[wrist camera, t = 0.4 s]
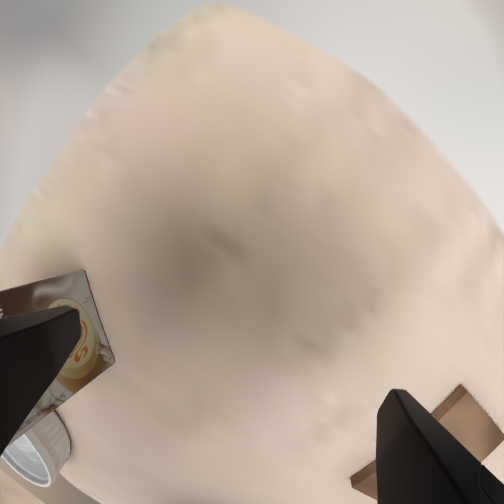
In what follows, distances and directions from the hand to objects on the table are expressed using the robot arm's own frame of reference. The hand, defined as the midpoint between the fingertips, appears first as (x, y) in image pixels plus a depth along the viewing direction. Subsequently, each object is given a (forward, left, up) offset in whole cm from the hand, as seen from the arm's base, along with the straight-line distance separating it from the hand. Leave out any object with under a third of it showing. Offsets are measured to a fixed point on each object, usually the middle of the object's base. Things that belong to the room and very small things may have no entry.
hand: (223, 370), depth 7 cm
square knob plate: (-3, -26, -15) cm, 30 cm away
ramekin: (-35, +8, -15) cm, 39 cm away
